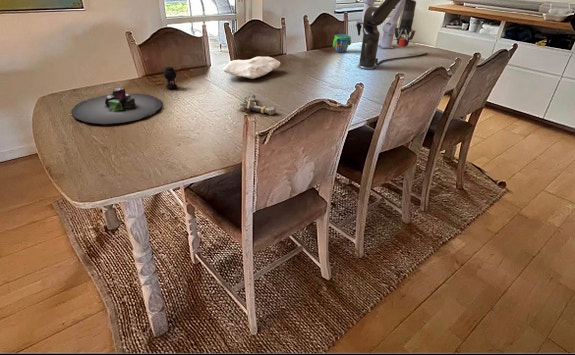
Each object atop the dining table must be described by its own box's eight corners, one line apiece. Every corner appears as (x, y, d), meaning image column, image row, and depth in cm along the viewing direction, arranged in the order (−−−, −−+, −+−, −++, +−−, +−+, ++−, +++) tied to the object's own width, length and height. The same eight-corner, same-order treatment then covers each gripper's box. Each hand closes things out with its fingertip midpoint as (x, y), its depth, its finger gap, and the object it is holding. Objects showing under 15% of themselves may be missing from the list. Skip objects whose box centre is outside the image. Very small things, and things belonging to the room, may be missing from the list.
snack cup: (344, 48, 256) (346, 33, 251) (354, 52, 249) (356, 36, 243) (327, 50, 249) (328, 35, 243) (337, 54, 241) (338, 38, 236)
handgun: (275, 94, 165) (242, 93, 164) (275, 109, 150) (239, 108, 149) (275, 100, 167) (242, 99, 166) (275, 115, 152) (239, 114, 151)
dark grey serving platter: (174, 113, 149) (170, 91, 144) (79, 131, 131) (72, 107, 127) (148, 93, 173) (144, 73, 169) (65, 106, 156) (59, 85, 151)
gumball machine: (165, 90, 172) (162, 69, 166) (163, 86, 176) (159, 65, 171) (180, 88, 175) (177, 67, 169) (177, 85, 179) (174, 64, 174)
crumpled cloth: (210, 71, 195) (210, 54, 190) (264, 61, 214) (265, 46, 208) (233, 90, 182) (233, 73, 176) (288, 78, 201) (290, 62, 195)
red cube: (399, 46, 242) (400, 39, 239) (397, 45, 246) (398, 37, 243) (406, 47, 242) (408, 39, 239) (404, 45, 246) (406, 37, 243)
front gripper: (420, 19, 233) (414, 46, 242) (399, 15, 241) (394, 42, 250) (415, 20, 228) (409, 48, 237) (394, 17, 236) (389, 44, 245)
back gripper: (358, 15, 245) (356, 36, 252) (379, 15, 248) (375, 36, 255) (355, 13, 251) (352, 34, 258) (375, 13, 253) (371, 34, 261)
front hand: (402, 45), depth 244 cm, fingers closed on red cube, 5 cm apart
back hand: (363, 35), depth 257 cm, fingers open, 7 cm apart
